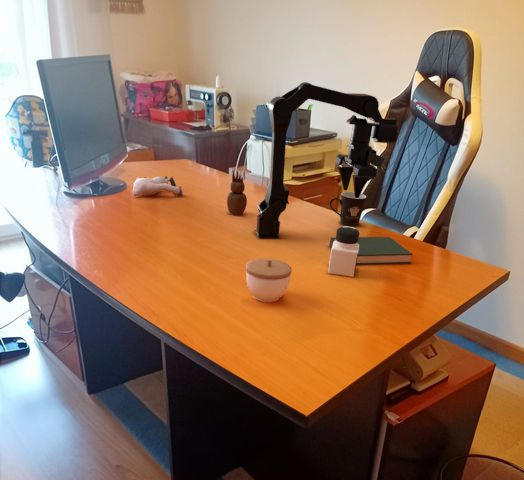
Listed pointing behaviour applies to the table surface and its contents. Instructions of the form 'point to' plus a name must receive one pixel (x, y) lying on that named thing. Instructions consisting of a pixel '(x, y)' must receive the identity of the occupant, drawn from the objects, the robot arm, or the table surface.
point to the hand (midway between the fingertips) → (350, 193)
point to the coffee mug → (350, 208)
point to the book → (380, 251)
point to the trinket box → (267, 278)
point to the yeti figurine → (155, 186)
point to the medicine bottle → (344, 252)
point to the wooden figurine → (236, 196)
